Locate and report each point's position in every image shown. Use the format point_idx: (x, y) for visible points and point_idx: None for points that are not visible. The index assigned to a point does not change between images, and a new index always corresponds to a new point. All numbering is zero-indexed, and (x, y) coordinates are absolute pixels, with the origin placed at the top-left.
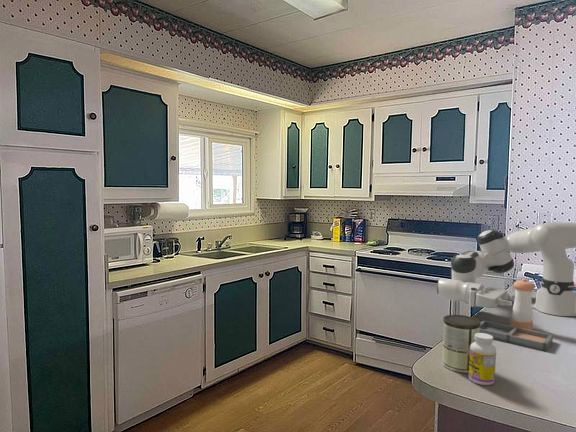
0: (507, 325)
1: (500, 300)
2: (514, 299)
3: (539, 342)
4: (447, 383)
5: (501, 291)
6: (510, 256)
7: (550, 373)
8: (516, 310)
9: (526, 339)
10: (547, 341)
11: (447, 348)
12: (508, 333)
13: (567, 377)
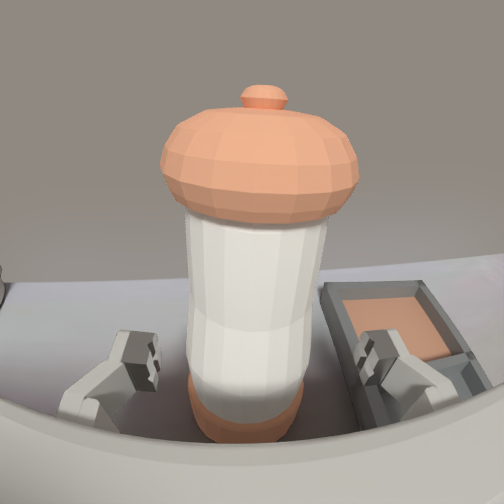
0: (379, 412)
1: (446, 381)
2: (155, 365)
3: (429, 291)
4: None
5: (90, 461)
6: None
7: (484, 274)
8: (308, 358)
9: (446, 314)
10: (401, 281)
11: None
12: (460, 363)
13: (469, 260)
